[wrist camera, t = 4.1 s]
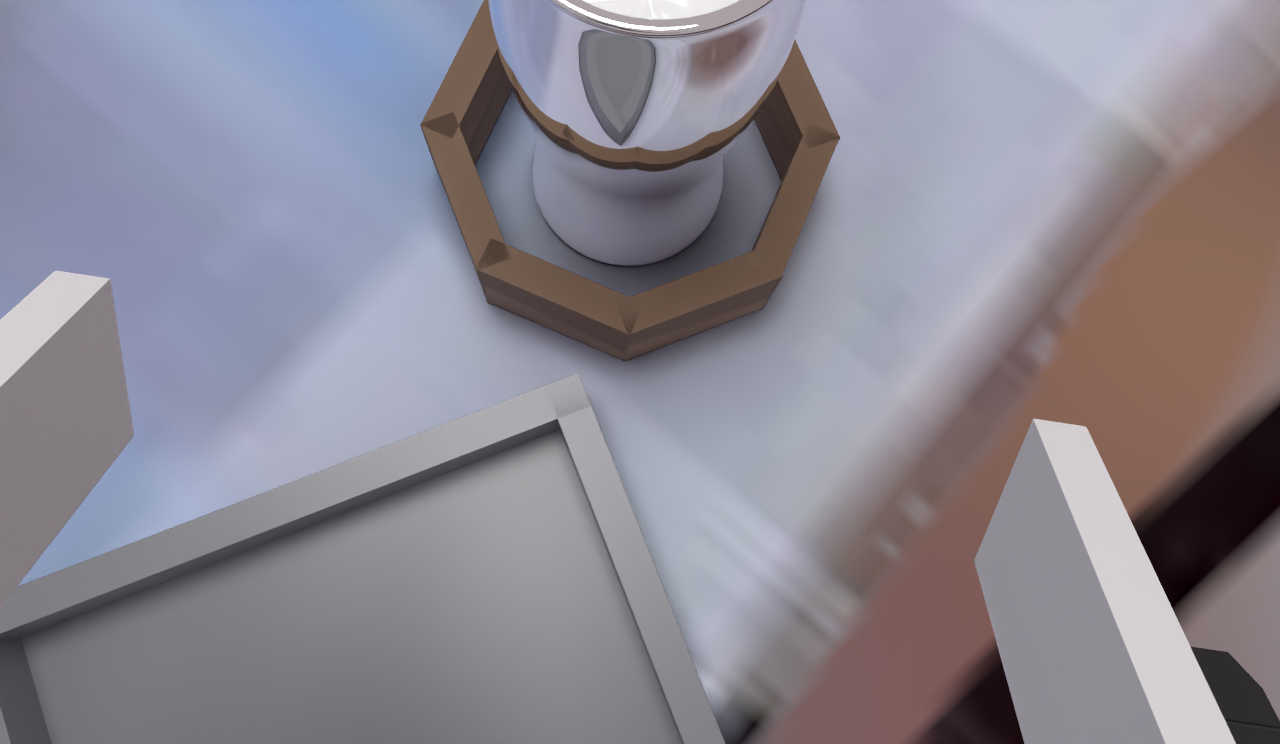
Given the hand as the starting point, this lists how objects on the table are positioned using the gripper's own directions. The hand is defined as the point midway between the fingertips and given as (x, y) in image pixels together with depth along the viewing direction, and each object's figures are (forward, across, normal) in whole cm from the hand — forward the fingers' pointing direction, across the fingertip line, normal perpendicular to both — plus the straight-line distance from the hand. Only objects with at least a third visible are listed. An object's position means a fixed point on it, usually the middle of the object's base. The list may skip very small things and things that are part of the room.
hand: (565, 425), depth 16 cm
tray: (+8, -5, -17) cm, 19 cm away
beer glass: (+20, 0, -5) cm, 21 cm away
